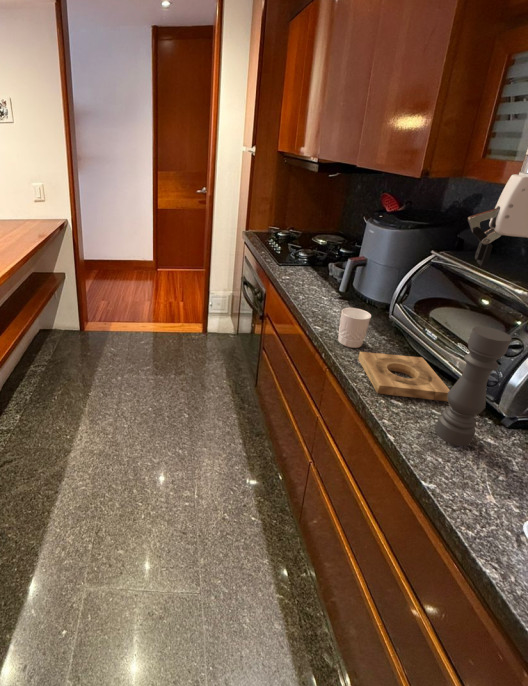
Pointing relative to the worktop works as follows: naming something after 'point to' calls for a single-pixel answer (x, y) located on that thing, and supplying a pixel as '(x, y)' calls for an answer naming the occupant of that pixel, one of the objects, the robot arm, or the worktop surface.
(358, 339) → the white cup
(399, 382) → the base pad
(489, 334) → the candle holder
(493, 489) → the worktop surface
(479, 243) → the robot arm
